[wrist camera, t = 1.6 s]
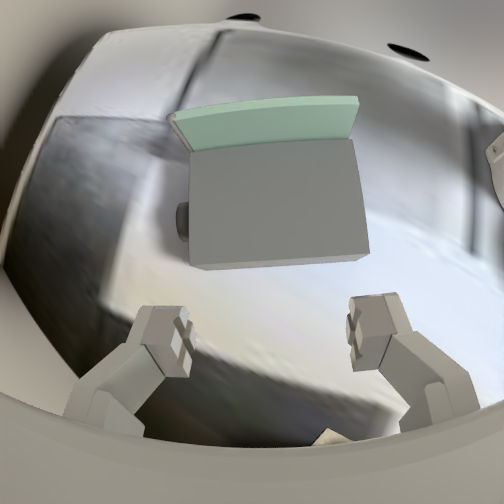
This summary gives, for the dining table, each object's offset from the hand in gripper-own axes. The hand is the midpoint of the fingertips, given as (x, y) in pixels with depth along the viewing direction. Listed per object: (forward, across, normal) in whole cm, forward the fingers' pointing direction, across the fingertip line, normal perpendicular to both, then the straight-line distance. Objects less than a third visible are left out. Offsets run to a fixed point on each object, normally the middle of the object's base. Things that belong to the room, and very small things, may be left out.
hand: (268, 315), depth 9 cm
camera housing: (+29, 0, +13) cm, 32 cm away
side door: (+35, 0, +7) cm, 35 cm away
